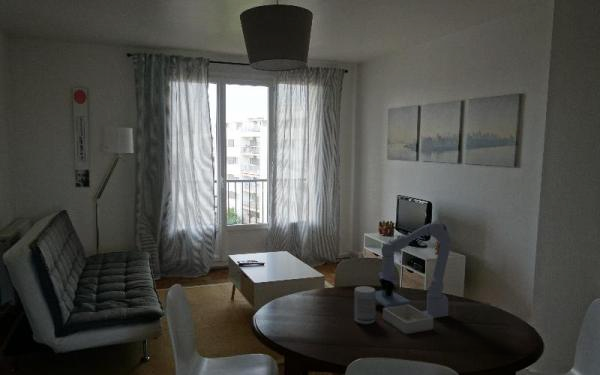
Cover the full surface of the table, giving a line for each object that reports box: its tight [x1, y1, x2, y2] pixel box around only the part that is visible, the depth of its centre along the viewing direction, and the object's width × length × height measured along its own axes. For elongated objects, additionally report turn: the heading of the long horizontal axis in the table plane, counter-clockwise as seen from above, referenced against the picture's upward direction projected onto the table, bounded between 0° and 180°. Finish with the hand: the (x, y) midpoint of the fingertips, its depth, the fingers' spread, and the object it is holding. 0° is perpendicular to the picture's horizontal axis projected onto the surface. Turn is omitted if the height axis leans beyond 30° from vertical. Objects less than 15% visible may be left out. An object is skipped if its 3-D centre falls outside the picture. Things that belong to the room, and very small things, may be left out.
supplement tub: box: [353, 285, 377, 325], centre depth 204 cm, size 10×10×15 cm
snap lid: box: [375, 288, 411, 308], centre depth 222 cm, size 14×18×6 cm
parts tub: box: [382, 303, 434, 335], centre depth 201 cm, size 14×18×5 cm
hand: (387, 294), depth 221 cm, fingers closed on snap lid, 2 cm apart
